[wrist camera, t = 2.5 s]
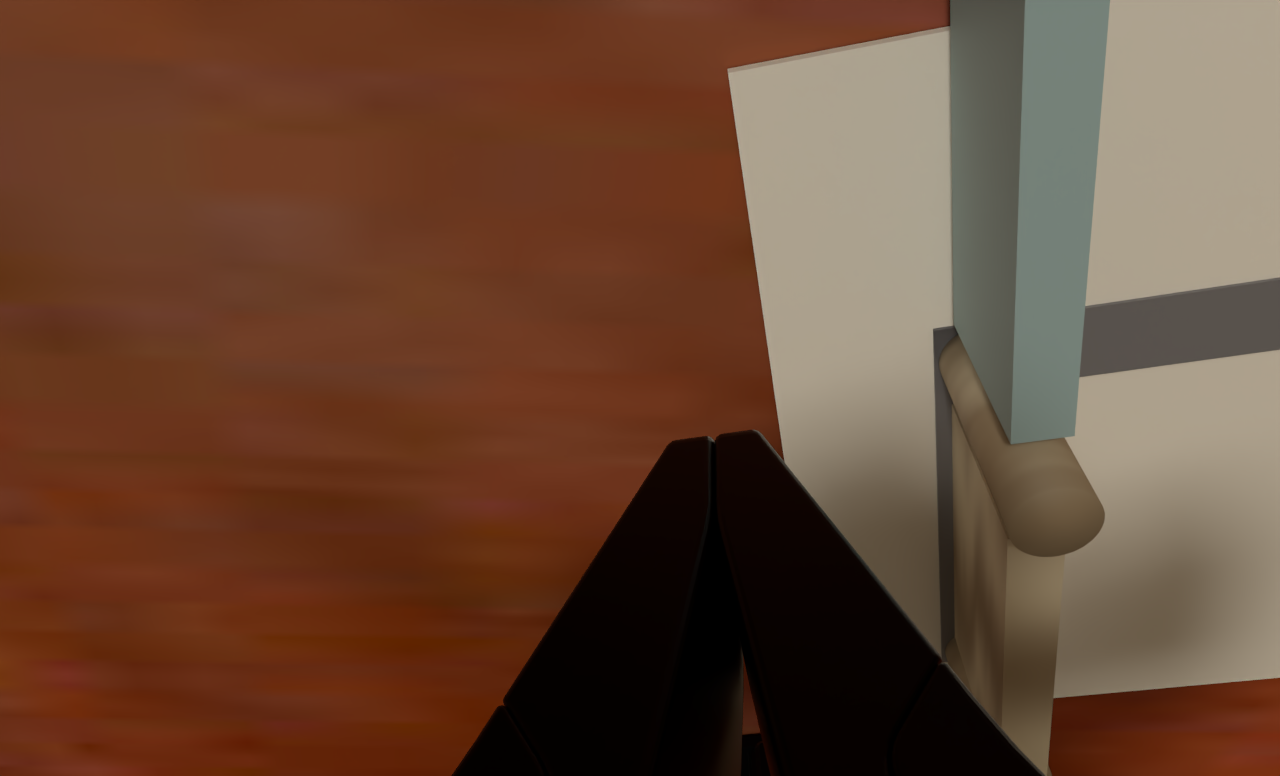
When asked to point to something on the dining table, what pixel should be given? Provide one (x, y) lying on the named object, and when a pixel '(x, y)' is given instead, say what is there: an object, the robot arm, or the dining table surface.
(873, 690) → the robot arm
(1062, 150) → the fence flap
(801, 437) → the card
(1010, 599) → the fence fixed
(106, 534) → the dining table surface
